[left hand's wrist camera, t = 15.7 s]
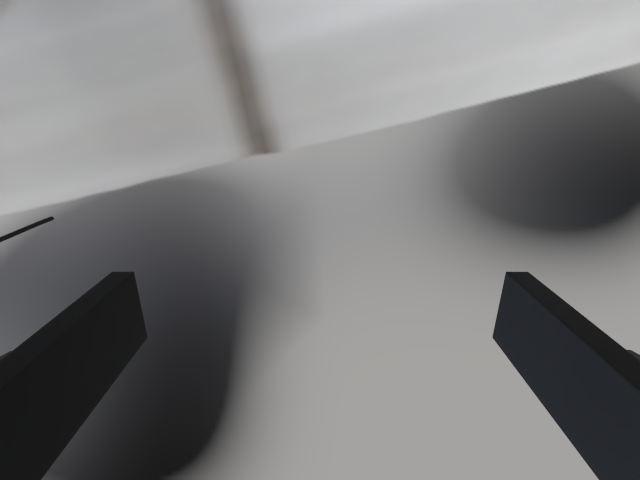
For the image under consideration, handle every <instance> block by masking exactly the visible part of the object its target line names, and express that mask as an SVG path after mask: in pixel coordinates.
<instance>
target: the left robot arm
mask: <svg viewBox="0 0 640 480" xmlns="http://www.w3.org/2000/svg"><path fill="white" fill-rule="evenodd" d="M52 220H54V217H52V216H51V217H48V218H45V219H43V220H40V221H38V222H35V223H33V224H30V225H28V226H26V227H23V228H21V229H18V230H16V231H14V232H11V233H9V234H6V235H4V236H1V237H0V242H2V241H5V240H7V239H10V238H12V237H14V236H16V235H19V234H21V233H23V232H26V231H28V230H30V229H33V228H35V227H37V226H40V225H42V224H45V223H47V222H50V221H52ZM146 339H147V333H146V328H145V323H144V318H143V314H142V309H141V304H140V299H139V294H138V290H137V285H136V280H135V275H134V272H111V273H110V274H109V275H108V276H106V277H105V278H104V279H103V280H101V281H100V282H99V283H98V284H96V285H95V286H94V287H93V288H91V289H90V290H89V291H87V292H86V293H85V294H84V295H82V296H81V297H80V298H79V299H77V300H76V301H75V302H74V303H72V304H71V305H70V306H69V307H67V308H66V309H65V310H64V311H62V312H61V313H60V314H59V315H57V316H56V317H55V318H54V319H52V320H51V321H50V322H49V323H47V324H46V325H45V326H43V327H42V328H41V329H40V330H38V331H37V332H36V333H35V334H33V335H32V336H31V337H30V338H28V339H27V340H26V341H25V342H23V343H22V344H21V345H20V346H18V347H17V348H16V349H14V350H13V351H10V352H8V353H6V354H4V355H2V356H0V480H41V479H42V478H43V476H44V475H45V474H46V472H47V471H48V470H49V468H50V467H51V465H52V464H53V463H54V461H55V460H56V459H57V457H58V456H59V455H60V454H61V452H62V451H63V450H64V448H65V447H66V445H67V444H68V443H69V441H70V440H71V439H72V437H73V436H74V435H75V433H76V432H77V431H78V429H79V428H80V427H81V425H82V424H83V423H84V421H85V420H86V419H87V417H88V416H89V415H90V413H91V412H92V411H93V409H94V408H95V407H96V405H97V404H98V403H99V401H100V400H101V399H102V397H103V396H104V395H105V393H106V392H107V391H108V389H109V388H110V387H111V385H112V384H113V383H114V381H115V380H116V379H117V377H118V376H119V375H120V373H121V372H122V371H123V369H124V368H125V367H126V365H127V364H128V363H129V361H130V360H131V359H132V357H133V356H134V355H135V353H136V352H137V351H138V349H139V348H140V347H141V345H142V344H143V343H144V341H145V340H146ZM493 339H494V340H495V341H496V343H497V344H498V345H499V347H500V348H501V349H502V351H503V352H504V353H505V355H506V356H507V357H508V359H509V360H510V361H511V363H512V364H513V365H514V367H515V368H516V369H517V371H518V372H519V373H520V375H521V376H522V377H523V379H524V380H525V381H526V383H527V384H528V385H529V387H530V388H531V389H532V391H533V392H534V393H535V395H536V396H537V397H538V399H539V400H540V401H541V403H542V404H543V405H544V407H545V408H546V409H547V411H548V412H549V413H550V415H551V416H552V417H553V419H554V420H555V421H556V423H557V424H558V425H559V427H560V428H561V429H562V431H563V432H564V433H565V435H566V436H567V437H568V439H569V440H570V441H571V443H572V444H573V445H574V447H575V448H576V450H577V451H578V452H579V453H580V455H581V456H582V458H583V459H584V460H585V461H586V463H587V464H588V466H589V467H590V468H591V469H592V471H593V472H594V474H595V475H596V476H597V478H598V479H599V480H640V355H639V354H637V353H635V352H633V351H631V350H626V349H624V348H623V347H622V346H621V345H619V344H618V343H617V342H615V341H614V340H613V339H612V338H610V337H609V336H608V335H607V334H605V333H604V332H603V331H601V330H600V329H599V328H598V327H597V326H595V325H594V324H593V323H592V322H590V321H589V320H588V319H587V318H585V317H584V316H583V315H581V314H580V313H579V312H578V311H576V310H575V309H574V308H573V307H571V306H570V305H569V304H568V303H566V302H565V301H564V300H563V299H561V298H560V297H559V296H558V295H556V294H555V293H554V292H552V291H551V290H550V289H549V288H547V287H546V286H545V285H544V284H542V283H541V282H540V281H539V280H537V279H536V278H535V277H534V276H532V275H531V274H530V273H529V272H506V275H505V280H504V285H503V289H502V294H501V299H500V304H499V309H498V314H497V318H496V323H495V328H494V333H493Z"/></svg>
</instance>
